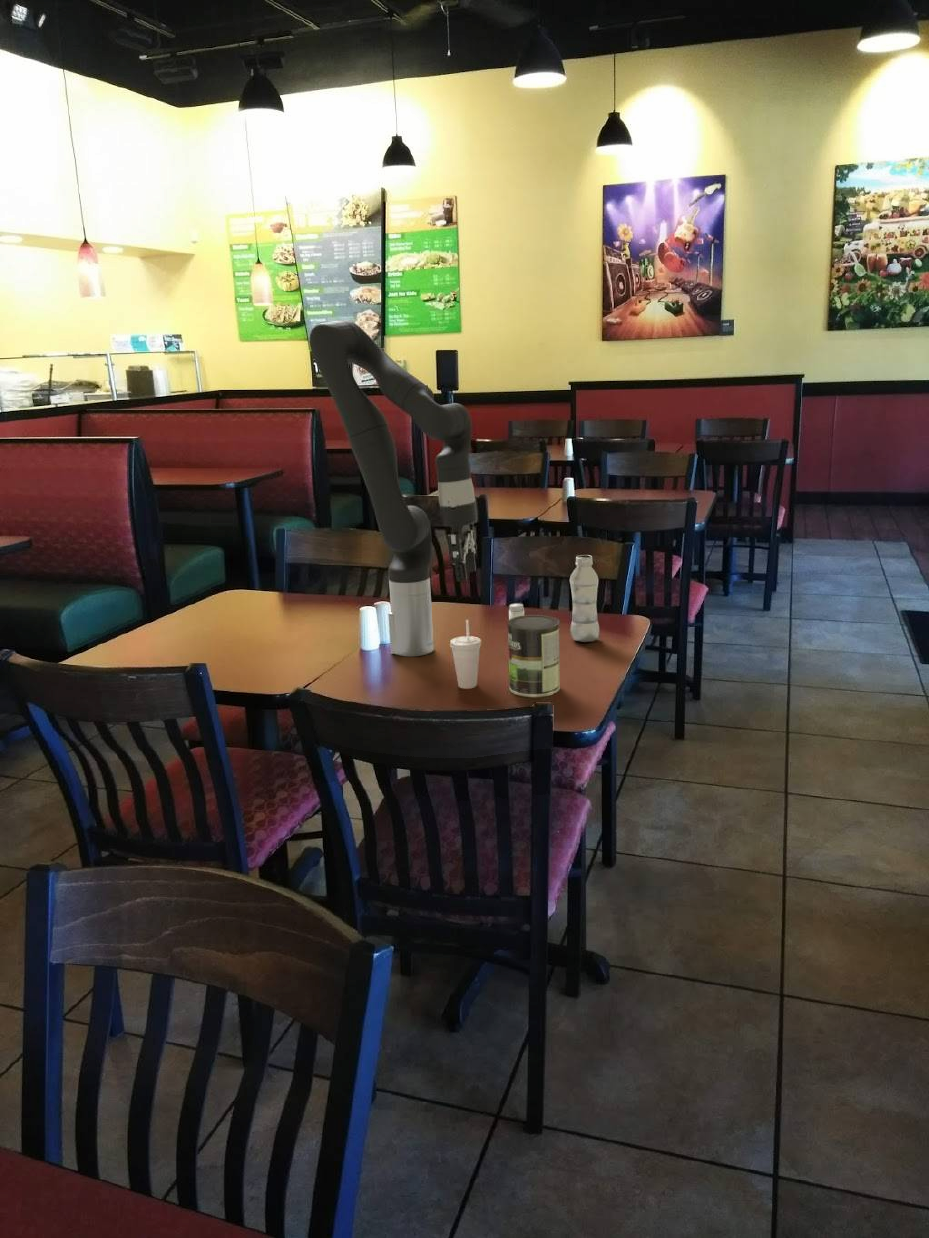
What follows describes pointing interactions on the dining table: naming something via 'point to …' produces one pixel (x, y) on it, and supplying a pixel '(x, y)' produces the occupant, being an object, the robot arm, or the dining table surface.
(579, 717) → the dining table surface
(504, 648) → the dining table surface
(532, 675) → the coffee can
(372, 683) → the dining table surface
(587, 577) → the plastic bottle
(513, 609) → the salt shaker
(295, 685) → the dining table surface
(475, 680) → the smoothie
